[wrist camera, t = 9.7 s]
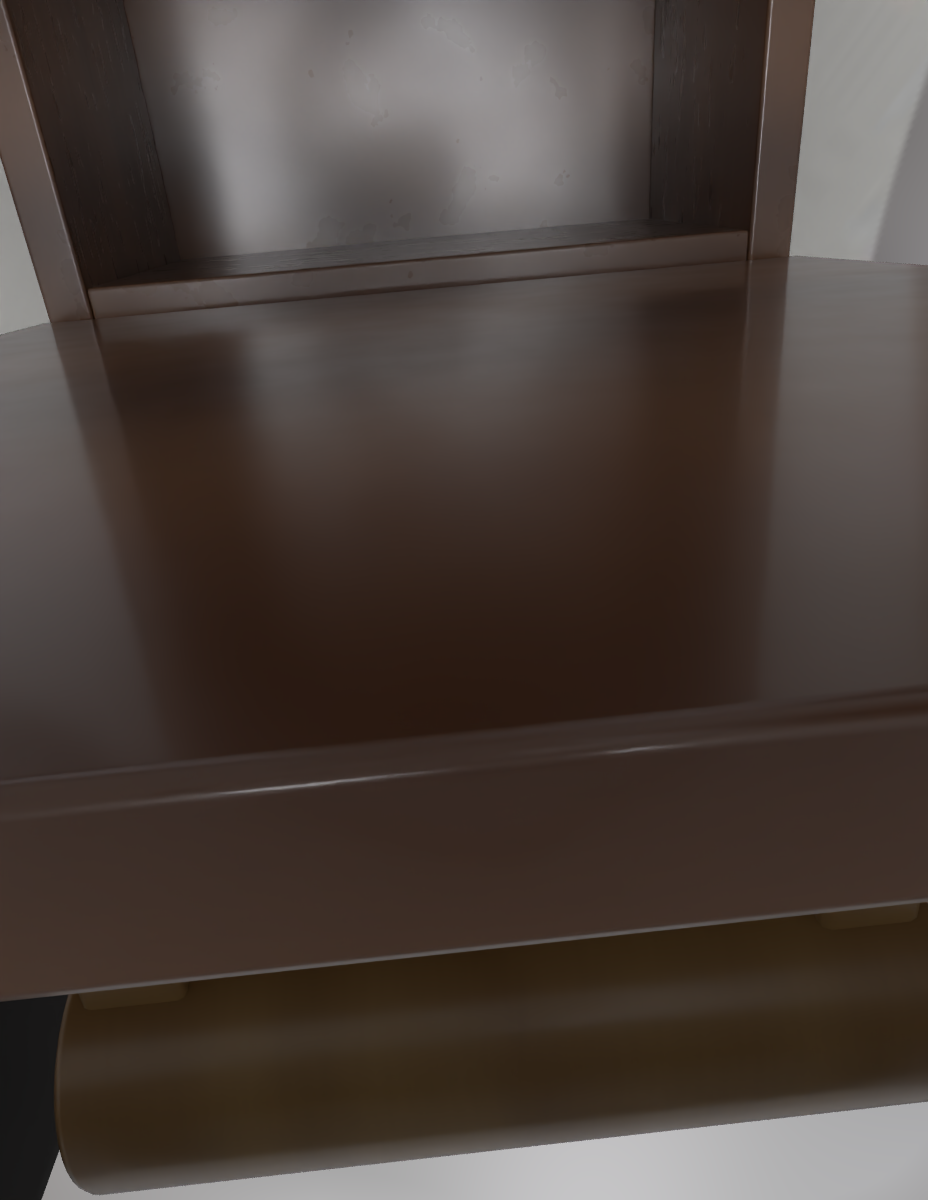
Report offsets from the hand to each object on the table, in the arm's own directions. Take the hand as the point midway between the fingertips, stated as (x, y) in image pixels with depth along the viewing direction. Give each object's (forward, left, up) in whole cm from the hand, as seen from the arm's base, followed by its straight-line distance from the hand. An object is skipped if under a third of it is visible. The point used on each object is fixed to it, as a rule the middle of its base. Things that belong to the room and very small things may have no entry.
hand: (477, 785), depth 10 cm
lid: (-5, 0, -3) cm, 6 cm away
